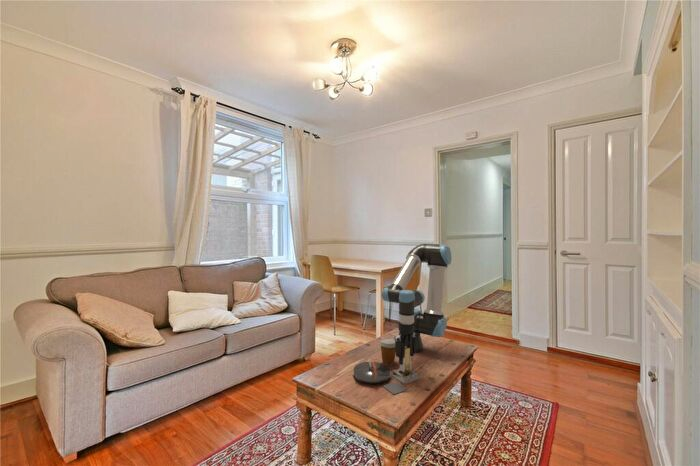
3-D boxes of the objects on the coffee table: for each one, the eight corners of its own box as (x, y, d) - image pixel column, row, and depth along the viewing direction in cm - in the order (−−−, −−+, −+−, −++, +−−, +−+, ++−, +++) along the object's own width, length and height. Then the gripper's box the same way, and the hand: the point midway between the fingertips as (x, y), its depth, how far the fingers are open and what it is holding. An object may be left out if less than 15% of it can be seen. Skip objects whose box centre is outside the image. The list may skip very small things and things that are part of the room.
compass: (351, 365, 156) (352, 352, 156) (385, 364, 158) (386, 351, 157) (355, 384, 138) (355, 369, 138) (393, 382, 140) (394, 367, 140)
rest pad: (395, 382, 143) (395, 381, 143) (407, 390, 136) (407, 389, 136) (382, 386, 139) (382, 385, 139) (393, 395, 132) (393, 394, 132)
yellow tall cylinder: (405, 374, 150) (406, 345, 150) (410, 378, 147) (411, 348, 147) (399, 376, 148) (400, 346, 148) (405, 380, 145) (405, 349, 145)
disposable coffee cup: (396, 367, 158) (396, 345, 158) (378, 365, 160) (378, 343, 160) (397, 359, 167) (397, 338, 167) (380, 358, 169) (380, 337, 169)
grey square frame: (405, 371, 154) (406, 366, 154) (418, 379, 146) (418, 374, 146) (392, 375, 149) (392, 371, 149) (404, 384, 141) (404, 379, 141)
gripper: (413, 317, 155) (412, 362, 155) (388, 322, 146) (387, 370, 146) (424, 321, 148) (423, 368, 149) (398, 327, 139) (397, 376, 140)
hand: (405, 369), depth 148 cm, fingers closed on yellow tall cylinder, 4 cm apart
